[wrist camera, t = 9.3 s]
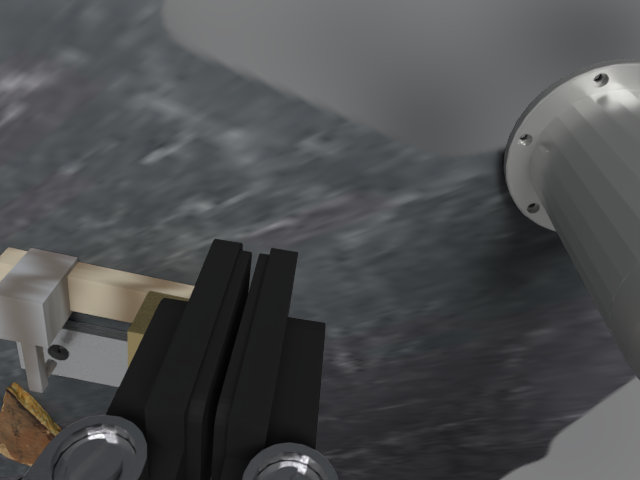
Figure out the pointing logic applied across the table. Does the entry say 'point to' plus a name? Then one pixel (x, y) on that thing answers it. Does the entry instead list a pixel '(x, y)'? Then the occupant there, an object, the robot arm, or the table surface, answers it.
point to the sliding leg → (144, 320)
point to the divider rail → (64, 300)
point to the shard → (24, 426)
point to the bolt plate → (88, 353)
